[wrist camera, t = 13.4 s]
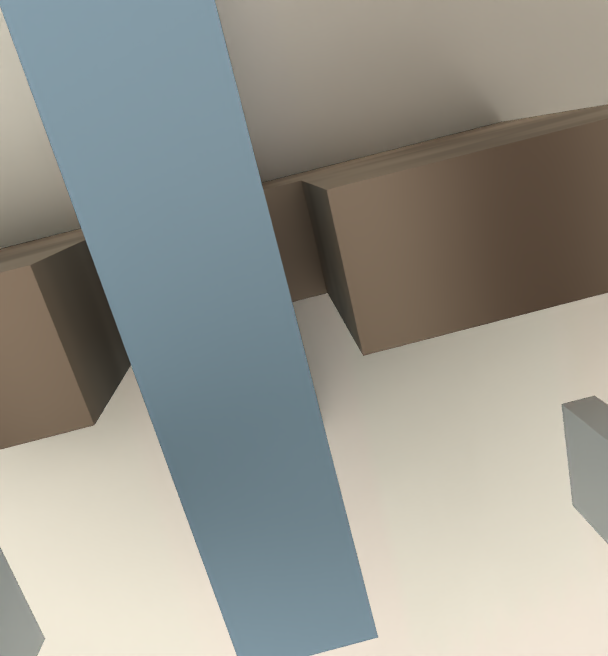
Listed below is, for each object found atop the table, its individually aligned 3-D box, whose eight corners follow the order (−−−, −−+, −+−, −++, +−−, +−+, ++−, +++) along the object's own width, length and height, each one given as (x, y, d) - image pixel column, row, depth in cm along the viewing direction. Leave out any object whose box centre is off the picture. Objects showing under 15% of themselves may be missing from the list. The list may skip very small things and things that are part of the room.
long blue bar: (204, -36, 17) (136, -306, 7) (322, 425, 21) (377, 637, 12) (107, -12, 16) (-94, -251, 7) (248, 444, 21) (243, 672, 12)
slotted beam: (502, 121, 19) (763, 78, 9) (512, 209, 20) (760, 253, 10) (-72, 266, 18) (-423, 380, 9) (-34, 348, 19) (-317, 531, 10)
